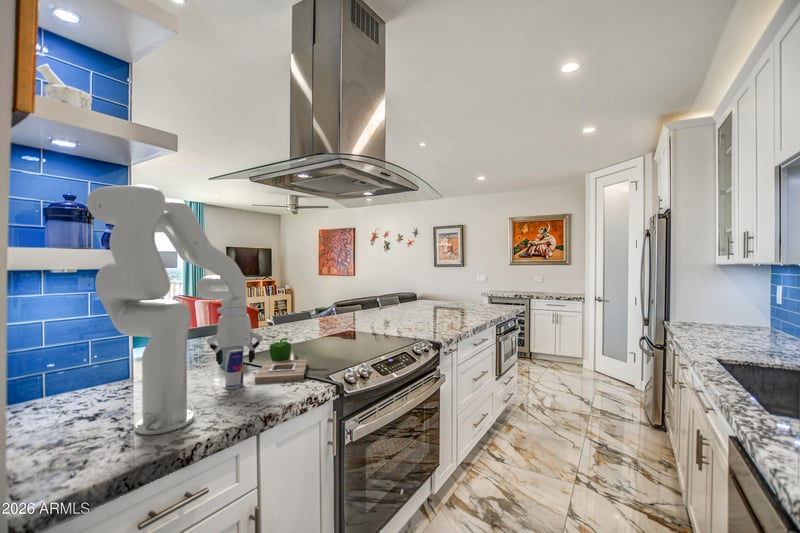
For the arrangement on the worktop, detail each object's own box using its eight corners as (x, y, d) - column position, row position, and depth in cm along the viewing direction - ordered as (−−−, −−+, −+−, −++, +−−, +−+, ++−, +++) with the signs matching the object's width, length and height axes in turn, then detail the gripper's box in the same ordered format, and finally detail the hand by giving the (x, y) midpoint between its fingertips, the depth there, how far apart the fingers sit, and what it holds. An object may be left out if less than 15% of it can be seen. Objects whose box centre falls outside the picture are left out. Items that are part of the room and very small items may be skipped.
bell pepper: (268, 366, 142) (268, 341, 142) (270, 360, 150) (270, 336, 150) (290, 364, 145) (290, 339, 144) (291, 359, 153) (291, 335, 152)
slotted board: (303, 380, 125) (303, 373, 125) (254, 383, 122) (254, 376, 122) (307, 364, 145) (307, 358, 145) (265, 366, 142) (265, 360, 142)
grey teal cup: (238, 368, 139) (238, 337, 139) (211, 368, 139) (211, 337, 139) (248, 361, 149) (248, 332, 149) (224, 361, 149) (224, 332, 149)
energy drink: (238, 389, 116) (238, 352, 116) (222, 389, 116) (222, 352, 116) (246, 383, 122) (245, 348, 121) (230, 383, 122) (230, 348, 122)
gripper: (202, 314, 114) (203, 367, 114) (259, 312, 117) (261, 364, 118) (210, 310, 121) (211, 360, 122) (264, 308, 124) (265, 357, 125)
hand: (235, 362), depth 120 cm, fingers open, 9 cm apart
